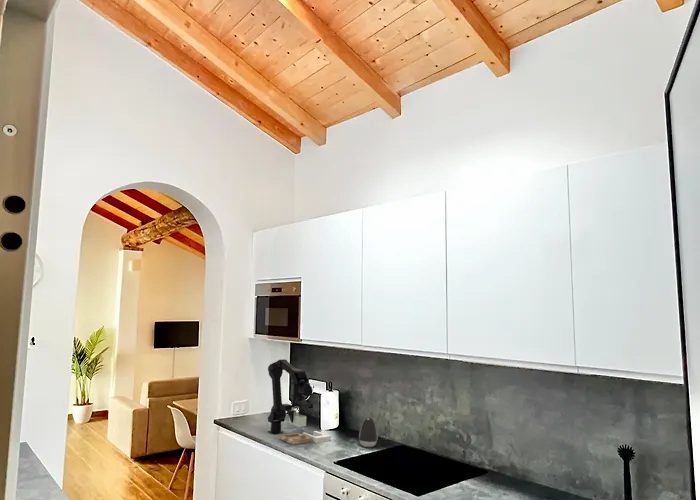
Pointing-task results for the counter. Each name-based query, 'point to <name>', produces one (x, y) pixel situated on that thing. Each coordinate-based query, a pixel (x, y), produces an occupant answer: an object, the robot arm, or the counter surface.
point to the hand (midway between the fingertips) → (296, 422)
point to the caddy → (298, 420)
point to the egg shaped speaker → (368, 433)
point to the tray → (295, 438)
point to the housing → (318, 437)
